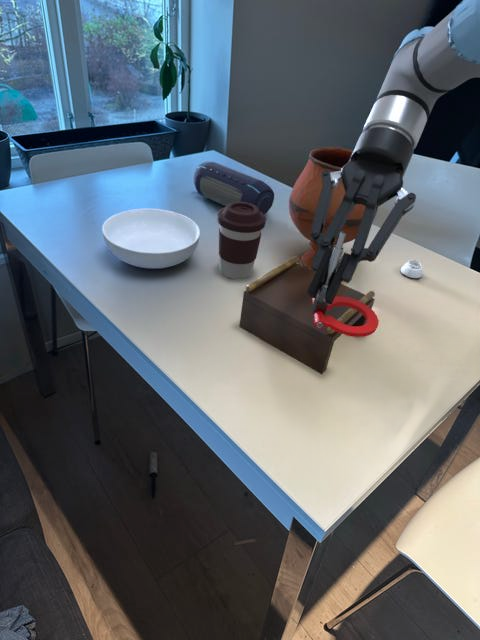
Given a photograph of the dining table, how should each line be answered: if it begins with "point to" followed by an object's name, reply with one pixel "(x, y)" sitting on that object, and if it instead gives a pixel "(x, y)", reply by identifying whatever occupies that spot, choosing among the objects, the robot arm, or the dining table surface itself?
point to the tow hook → (340, 302)
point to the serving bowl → (151, 237)
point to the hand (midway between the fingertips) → (319, 297)
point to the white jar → (412, 269)
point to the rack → (296, 314)
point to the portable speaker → (231, 186)
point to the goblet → (309, 192)
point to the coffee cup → (239, 238)
